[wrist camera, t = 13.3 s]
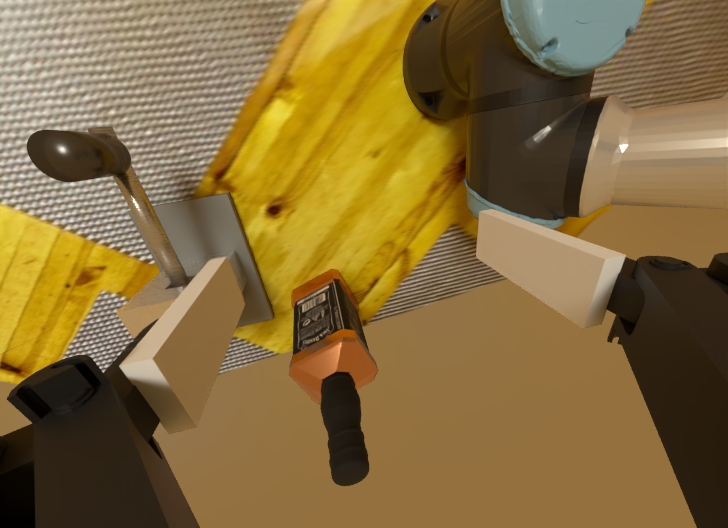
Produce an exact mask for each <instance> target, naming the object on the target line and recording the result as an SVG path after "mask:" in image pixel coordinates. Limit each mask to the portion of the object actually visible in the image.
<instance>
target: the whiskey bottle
mask: <svg viewBox="0 0 728 528" xmlns="http://www.w3.org/2000/svg"><path fill="white" fill-rule="evenodd" d="M291 304H292V307H293V308H294V332H293V357H292V360H291V363H290V366H289V376H290V377H291V378H292V379H293V380H294V381H295V382H296V383H297V384H298V385H299V386H300V387H301V388H302V389H303V390H304V391H305V392H306V393H307V394H308V395H309V396H310V397H311V399H312V400H313V401H315V402H316V404H321V413H322V417H323V421H324V425H325V427H326V429H327V432H328V437H329V440H328V448H329V453H330V461H329V463H330V467H331V475H332V479H333V481H334V482H335V483H336V484H338V485H340V486H350V485H353V484H356V483H358V482H360V481H362V480H363V479H364V478H365V477H366V476H367V474H368V472H369V462H368V454H367V450H366V448H365V443H364V434H363V432H362V431H361V426H360V422H361V407H360V398H359V395H358V393H357V390H358V389H359V388H361V387H363V386H365V385H367V384H369V383H371V382H372V381H373V380H374V378H375V376H376V374H377V372H378V368H377V365H376V362H375V360H374V359H373V357H372V356H371V354H370V353H369V350H368V346H367V343H366V340H365V336H364V333H363V329H362V326H361V322H360V319H359V315H358V311H359V308H358V305H357V301H356V299H355V297H354V296H353V294H352V292H351V291H350V289H349V287H348V286H347V284H346V283H345V281H344V279H343V278H342V276H341V275H340V273H339V271H338V270H334V269H331V270H329V271H327V272H325V273H323V274H322V275H320V276H318V277H316V278H314V279H312V280H311V281H309V282H307V283H305V284H303V285H301V286H300V287H298V288H296V289H294V290H293V292H292V295H291Z"/></svg>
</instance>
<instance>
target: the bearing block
mask: <svg viewBox="0 0 728 528" xmlns="http://www.w3.org/2000/svg"><path fill="white" fill-rule="evenodd" d="M222 257H227V258H228V261H229V263H230V266H231V268H232V271H233V274H234V276H235V279H236V281H237V284H238V287H239V289H240V292H241V294H242V292H243V289H244V287H245V284H246V282H247V280H246V278H245V275H244V273H243V270H242V268H241V265H240V263H239V260H238V257H237V255H236V252H235V250H234V251H229V252H224V253H219V254H214V255H209V256H204V257H199V258H194V259H189V260H185V261H180V262H181V264H182V266H183V268H184V270H185V272H186V274H187V276H188V278H189V280H190V282H191V281H192V280H193V279H194V278H195V277H196V275H197V274H198V273H199V272H200V271H201V270H202V268H203V267H204V266H205V265H206V264H207V263H208V261H209V260H211V259H216V258H222ZM190 282H189V284H190ZM189 284H188V285H189ZM188 285H184V286H179V287H175V288H173V286H172V284H171V283H170V281H169V279H168V277H167V275H166V273H165V272H164V270H163V271H162V272H161V273H160V274H158V275H157V276H156V277H155V278H154V279H153V280H152V281H151V282H149V283H148V284H147V285H146V286H145V287H144V288H143V289H142V290H141V291H139V292H138V293H137V294H136V295H135V296H134V297H133V298H132V299H130V300H129V301H128V302H127V303H126V304H125V305H124V306H123V307H122V308H120V309H119V310H118V311H117V312H116V313H117V315H118V316H119V318H120V319H121V321H122V322H123V324H124V325H125V326H126V328H127V329H128V331H129V332H130V334H131V335H132V337H133V338H134V339H135V337H136V336H137V335H138V334H139V333H140V332H141V331H142V330H143V329H144V328H145V327H147V326H148V325H149V324H151V323H152V322H154V321H155V320H156V319H160V318H161V316H162V315H163V314H164V313H165V312H166V311H167V309H168V308H169V307H170V306H171V305H172V304H173V302H174V301H175V300H176V299H177V298H178V297H179V295H180V294H181V293H182V292H183V291H184V289H185V288H186V287H187V286H188Z"/></svg>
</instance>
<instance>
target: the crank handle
mask: <svg viewBox="0 0 728 528" xmlns="http://www.w3.org/2000/svg"><path fill="white" fill-rule="evenodd" d="M87 130H88V132H89V133H88V132H73V131H58V130H41V131H37V132H35V133H34V134H32V135H31V136H30V138H29V139H28V142H27V151H28V154H29V157H30V159H31V160H32V162H33V163H34V164H35V166H36V167H37V168H38V169H39V170H41V171H42V172H43V173H45V174H46V175H48V176H50V177H51V178H54V179H56V180H59V181H64V182H76V181H82V180H89V179H95V178H102V177H108V176H113V178H114V180H115V181H116V183H117V185H118V187H119V189H120V191H121V192H122V194H123V196H124V198H125V200H126V202H127V203H128V205H129V207H130V209H131V211H132V213H133V215H134V216H135V218H136V220H137V222H138V224H139V226H140V227H141V229H142V231H143V233H144V235H145V237H146V238H147V240H148V242H149V244H150V246H151V248H152V249H153V251H154V253H155V255H156V257H157V259H158V260H159V262H160V264H161V266H162V268H163V270H164V272H165V273H166V275H167V277H168V279H169V281H170V283H171V284H172V286H173V288H175V287H179V286H184V285H188V284H189V282H190V280H189V278H188V276H187V274H186V272H185V270H184V268H183V266H182V264H181V262H180V260H179V258H178V256H177V254H176V252H175V250H174V248H173V246H172V244H171V242H170V240H169V238H168V237H167V235H166V233H165V231H164V229H163V227H162V225H161V223H160V221H159V219H158V217H157V215H156V213H155V211H154V209H153V207H152V205H151V203H150V201H149V199H148V197H147V195H146V193H145V191H144V189H143V187H142V185H141V183H140V181H139V179H138V177H137V175H136V173H135V171H134V169H133V167H132V165H131V157H130V154H129V152H128V150H127V148H126V147H125V146H124V145H123V144H122V143H121V142H120V141H119V139H118V137H117V135H116V133H115V131H114V129H113V127H96V128H89V129H87Z"/></svg>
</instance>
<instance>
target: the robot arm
mask: <svg viewBox="0 0 728 528" xmlns="http://www.w3.org/2000/svg"><path fill="white" fill-rule="evenodd" d="M645 3H646V0H436V1H435V2H433V3H432V4H431V5H430V6H429V7H428V8H427V9H426V10H425V11H424V12H423V13H422V14H421V16H420V17H419V18H418V19H417V21H416V22H415V24H414V25H413V27H412V29H411V31H410V33H409V36H408V38H407V41H406V45H405V49H404V55H403V75H404V81H405V85H406V88H407V91H408V94H409V96H410V98H411V100H412V101H413V103H414V104H415V105H416V107H417V108H418V109H419V110H420V111H421V112H423V113H424V114H425V115H427V116H429V117H431V118H434V119H439V120H449V119H454V118H459V117H462V116H464V115H466V114H468V115H467V145H466V177H465V179H464V184H465V187H466V202H467V207H468V209H469V211H470V212H471V213H472V214H473V216H474V217H475V218H477V219H478V220H479V222H478V236H477V249H476V258H478V259H479V260H481V261H482V262H484V263H485V264H487V265H488V266H490V267H491V268H493V269H494V270H496V271H497V272H499V273H500V274H502V275H503V276H505V277H506V278H508V279H509V280H511V281H512V282H514V283H515V284H517V285H518V286H520V287H521V288H523V289H524V290H526V291H527V292H529V293H530V294H532V295H533V296H535V297H536V298H538V299H539V300H541V301H542V302H544V303H545V304H547V305H548V306H550V307H551V308H553V309H554V310H556V311H557V312H559V313H560V314H562V315H563V316H565V317H566V318H568V319H569V320H571V321H572V322H574V323H575V324H577V325H578V326H580V327H581V328H583V329H584V328H588V327H592V326H596V325H600V324H602V321H603V319H604V316H605V313H606V310H609V311H611V312H613V313H615V314H616V317H615V320H614V322H613V325H612V328H611V330H610V333H609V336H608V340H607V341H608V342H612V340H613V338H615V337H619V341H618V344H621V345H622V346H623V349H624V351H625V353H626V356H627V358H628V361H629V363H630V366H631V368H632V371H633V373H634V375H635V378H636V380H637V382H638V385H639V388H640V390H641V392H642V395H643V397H644V400H645V402H646V405H647V407H648V409H649V412H650V414H651V417H652V419H653V422H654V424H655V427H656V429H657V431H658V434H659V436H660V438H661V441H662V443H663V446H664V448H665V451H666V453H667V456H668V458H669V461H670V463H671V465H672V468H673V470H674V473H675V475H676V478H677V480H678V482H679V485H680V487H681V490H682V492H683V495H684V497H685V500H686V502H687V504H688V507H689V509H690V512H691V514H692V517H693V519H694V521H695V524H696V526H697V528H728V253H719V254H716V255H714V258H713V259H712V261H711V263H710V265H709V267H708V268H697V267H695V266H694V265H692V264H690V263H689V262H687V261H682V260H678V259H675V258H672V257H665V256H664V257H663V256H662V257H661V256H645V257H640V258H639V259H637V261H634V260H632V259H629V258H626V255H625V254H622V253H619V252H616V251H613V250H610V249H607V248H604V247H602V246H599V245H596V244H592V243H590V242H587V241H584V240H581V239H578V238H575V237H573V236H570V235H567V234H564V233H561V232H558V231H555V230H552V229H555V228H558V227H560V226H561V225H562V224H563V223H564V222H565V221H566V220H567V219H568V217H580V218H582V217H587V216H588V215H590V214H592V213H593V212H595V211H597V210H599V209H600V208H602V207H604V206H607V205H610V204H612V205H636V206H660V207H684V208H709V209H728V98H724V99H716V100H709V101H701V102H694V103H687V104H679V105H672V106H664V107H657V108H649V109H642V110H638V109H631V108H630V107H629V106H628V105H626V104H625V103H624V102H623V101H621V100H620V99H619V98H618V97H617V96H615V95H611V96H606V97H600V98H594V99H590V93H589V92H591V87H592V82H593V77H594V72H595V69H597V68H599V67H601V66H602V65H603V64H604V63H606V62H607V61H609V60H610V59H611V58H613V57H614V56H615V55H616V54H617V53H618V52H619V51H620V50H621V48H622V47H623V46H624V45H625V43H626V37H627V36H629V35H631V34H632V33H633V31H634V30H635V28H636V26H637V24H638V22H639V20H640V17H641V15H642V12H643V9H644V6H645ZM584 93H585V94H584ZM244 306H245V302H244V300H243V297H242V294H241V292H240V289H239V287H238V284H237V281H236V279H235V276H234V274H233V271H232V268H231V266H230V263H229V261H228V258H227V257H222V258H216V259H211V260H209V261H208V263H207V264H206V265H205V266H204V267H203V268H202V270H201V271H200V272H199V273H198V274H197V275H196V277H195V278H194V279H193V280H192V281H191V282H190V284H189V285H188V286H187V287H186V288H185V289H184V291H183V292H182V293H181V294H180V295H179V297H178V298H177V299H176V300H175V301H174V302H173V304H172V305H171V306H170V307H169V308H168V309H167V311H166V312H165V313H164V314H163V315H162V316H161V318H160V319H156V320H155V321H154V322H152V323H151V324H149V325H148V326H147V327H145V328H144V329H143V330H142V331H141V332H140V333H139V334H138V335H137V336H136V337H135V339H134V340H133V342H131V343H130V344H129V345H128V346H127V347H126V349H125V351H123V352H122V353H121V354H120V355H119V356H118V357H117V359H116V360H115V361H114V362H113V363H112V364H111V365H110V366H109V368H108V369H107V370H106V371H105V372H104V373H103V372H102V371H101V370H100V368H99V367H98V366H97V365H96V363H95V362H94V361H93V359H92V358H91V357H89V356H88V355H76V356H73V357H69V358H65V359H63V360H60V361H58V362H55V363H53V364H50V365H49V366H47V367H45V368H43V369H41V370H39V371H37V372H35V373H34V374H32V375H31V376H29V377H28V378H26V379H25V380H23V381H22V382H21V383H20V384H19V385H17V386H16V387H15V388H14V389H13V390H12V391H11V392H10V394H9V396H8V398H7V400H8V401H9V402H11V403H12V404H13V405H14V406H15V407H16V408H17V409H18V410H19V411H20V412H21V413H22V414H23V415H24V416H25V417H27V418H28V419H29V420H30V421H31V422H32V423H33V424H30V425H28V426H26V427H23V428H21V429H18V430H16V431H13V432H11V433H9V434H6V435H4V436H0V528H200V527H199V525H198V523H197V521H196V519H195V517H194V515H193V513H192V511H191V509H190V507H189V504H188V502H187V501H186V499H185V496H184V495H183V492H182V490H181V488H180V486H179V484H178V482H177V480H176V478H175V476H174V474H173V472H172V470H171V468H170V466H169V464H168V462H167V460H166V458H165V456H164V454H163V452H162V450H161V448H160V446H159V444H158V442H157V441H156V440H155V439H154V437H153V436H152V435H153V433H154V431H155V429H156V428H157V426H158V424H159V422H160V423H161V424H162V425H163V427H164V428H165V429H166V431H167V432H168V433H169V434H172V433H176V432H180V431H184V430H188V429H192V428H195V427H197V426H198V423H199V420H200V418H201V415H202V413H203V410H204V408H205V405H206V402H207V400H208V398H209V395H210V392H211V390H212V387H213V385H214V382H215V380H216V377H217V375H218V372H219V370H220V367H221V365H222V362H223V360H224V357H225V354H226V352H227V349H228V347H229V344H230V342H231V339H232V337H233V334H234V332H235V329H236V327H237V324H238V321H239V319H240V316H241V314H242V311H243V309H244Z"/></svg>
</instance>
